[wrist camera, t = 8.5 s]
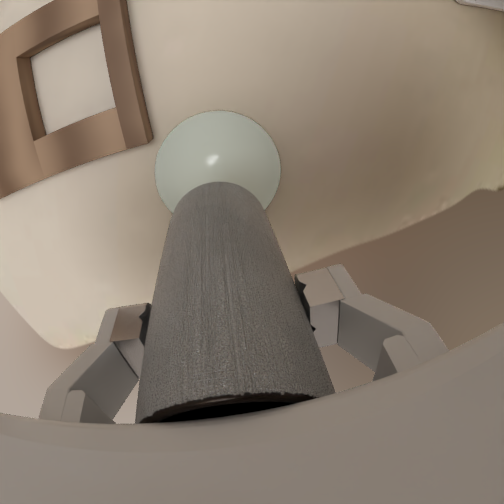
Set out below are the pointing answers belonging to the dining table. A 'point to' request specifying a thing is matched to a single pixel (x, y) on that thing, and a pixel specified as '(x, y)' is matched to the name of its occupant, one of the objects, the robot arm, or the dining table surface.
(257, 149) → the saucer
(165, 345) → the grey cylinder
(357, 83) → the dining table surface
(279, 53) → the dining table surface
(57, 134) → the pocket board
